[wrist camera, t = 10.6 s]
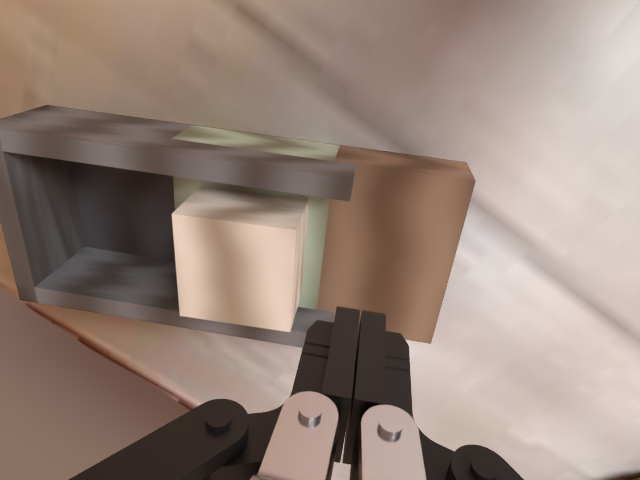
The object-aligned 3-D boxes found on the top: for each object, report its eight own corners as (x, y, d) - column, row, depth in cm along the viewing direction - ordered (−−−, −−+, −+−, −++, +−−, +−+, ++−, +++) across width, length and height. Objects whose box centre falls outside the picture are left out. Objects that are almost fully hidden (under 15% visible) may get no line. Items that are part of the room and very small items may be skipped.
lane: (466, 162, 34) (483, 198, 28) (427, 314, 41) (434, 369, 35) (46, 105, 37) (-24, 126, 30) (72, 257, 43) (20, 299, 37)
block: (308, 199, 33) (296, 230, 29) (302, 292, 37) (290, 332, 32) (200, 186, 34) (171, 214, 29) (204, 278, 37) (179, 315, 33)
